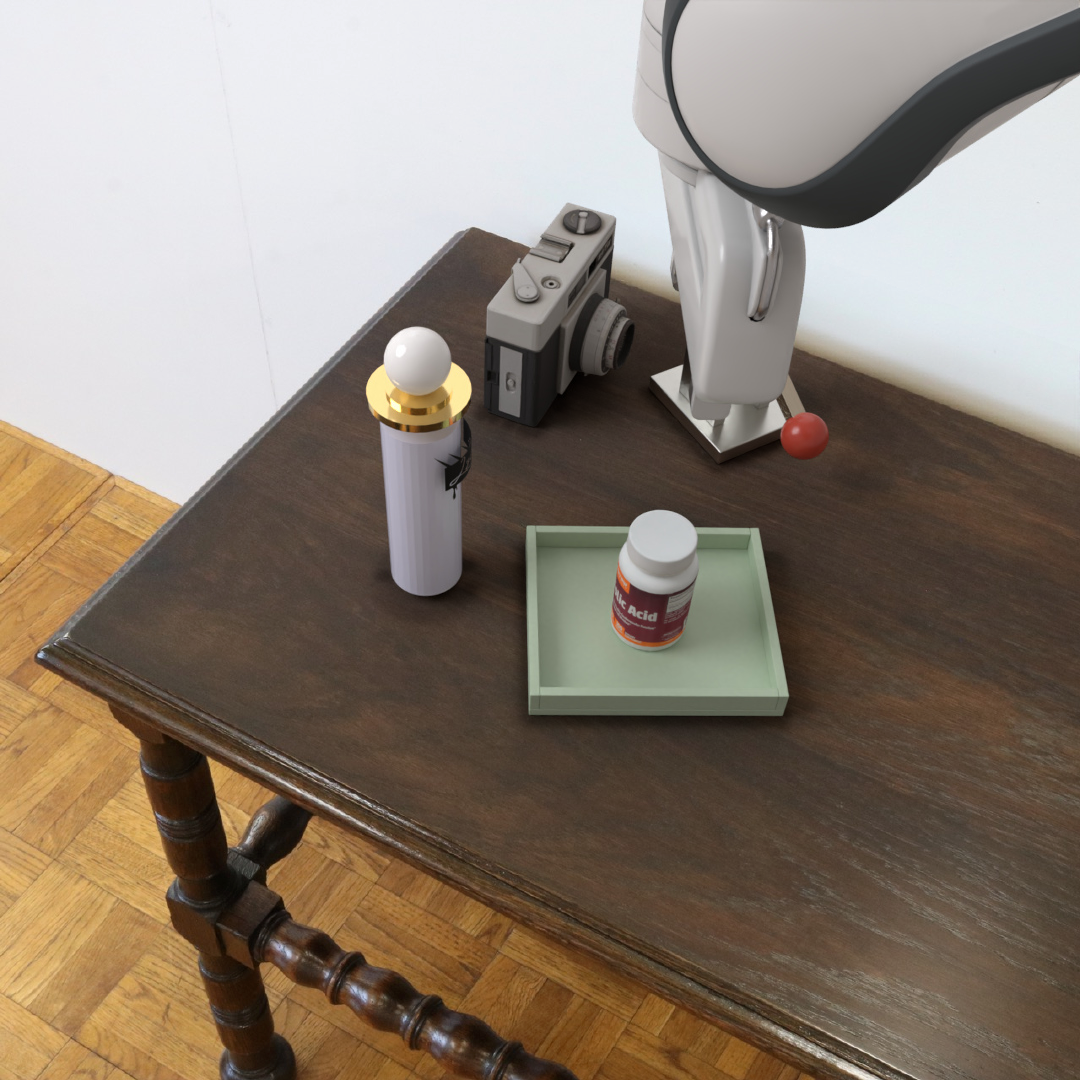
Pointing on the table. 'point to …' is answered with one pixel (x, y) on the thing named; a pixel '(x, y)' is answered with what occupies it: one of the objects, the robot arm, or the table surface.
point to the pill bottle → (655, 580)
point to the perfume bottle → (422, 457)
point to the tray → (650, 676)
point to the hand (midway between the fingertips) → (696, 343)
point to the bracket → (718, 437)
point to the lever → (800, 427)
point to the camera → (555, 318)
